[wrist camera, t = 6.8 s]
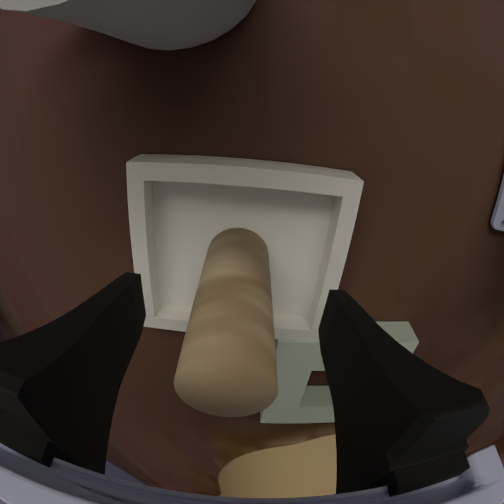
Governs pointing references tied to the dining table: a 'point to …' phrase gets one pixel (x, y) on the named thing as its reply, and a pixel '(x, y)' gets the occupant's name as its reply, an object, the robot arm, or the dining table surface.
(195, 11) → the cup
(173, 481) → the dining table surface
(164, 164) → the tray
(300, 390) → the holder
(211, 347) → the peg
